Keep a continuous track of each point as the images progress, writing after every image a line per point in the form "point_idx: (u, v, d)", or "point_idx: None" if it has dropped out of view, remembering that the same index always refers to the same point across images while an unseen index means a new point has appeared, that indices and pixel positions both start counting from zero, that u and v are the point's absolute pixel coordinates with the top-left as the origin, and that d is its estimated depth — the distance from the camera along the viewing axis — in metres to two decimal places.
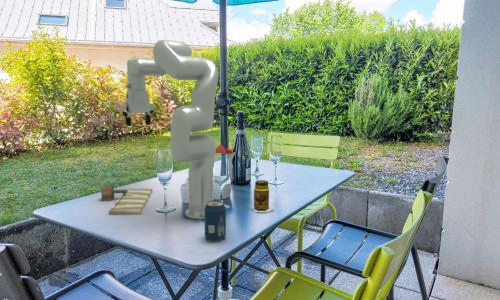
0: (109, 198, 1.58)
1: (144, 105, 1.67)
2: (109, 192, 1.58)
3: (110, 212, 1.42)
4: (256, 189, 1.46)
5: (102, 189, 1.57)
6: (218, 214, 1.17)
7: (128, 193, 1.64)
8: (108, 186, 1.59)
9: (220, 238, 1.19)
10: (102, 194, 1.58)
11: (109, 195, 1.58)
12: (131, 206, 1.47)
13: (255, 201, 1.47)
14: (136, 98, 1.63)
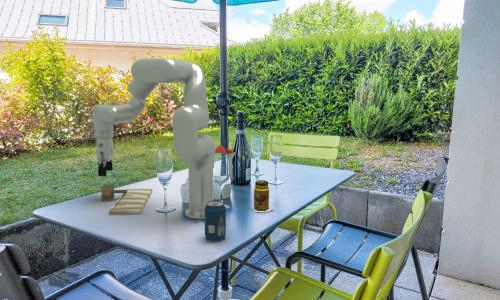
0: (109, 198, 1.58)
1: (112, 151, 1.59)
2: (109, 192, 1.58)
3: (110, 212, 1.42)
4: (256, 189, 1.46)
5: (102, 189, 1.57)
6: (218, 214, 1.17)
7: (128, 193, 1.64)
8: (108, 186, 1.59)
9: (220, 238, 1.19)
10: (102, 194, 1.58)
11: (109, 195, 1.58)
12: (131, 206, 1.47)
13: (255, 201, 1.47)
14: (109, 146, 1.55)
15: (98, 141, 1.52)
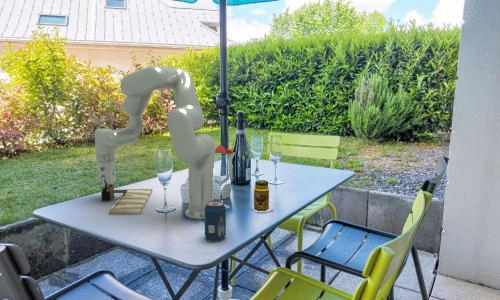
0: None
1: (114, 174, 1.61)
2: None
3: (110, 212, 1.42)
4: (256, 189, 1.46)
5: None
6: (218, 214, 1.17)
7: (128, 193, 1.64)
8: None
9: (220, 238, 1.19)
10: None
11: None
12: (131, 206, 1.47)
13: (255, 201, 1.47)
14: (111, 169, 1.57)
15: (100, 165, 1.53)
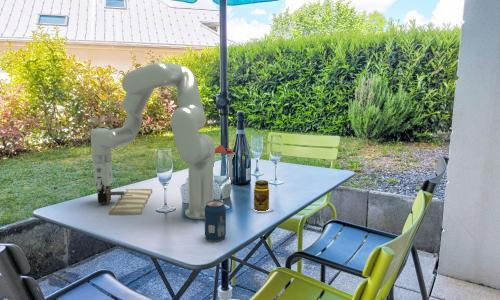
0: None
1: (111, 175, 1.55)
2: (106, 194, 1.52)
3: (110, 212, 1.42)
4: (256, 189, 1.46)
5: None
6: (218, 214, 1.17)
7: (128, 193, 1.64)
8: None
9: (220, 238, 1.19)
10: None
11: None
12: (131, 206, 1.47)
13: (255, 201, 1.47)
14: (108, 170, 1.51)
15: (96, 166, 1.48)
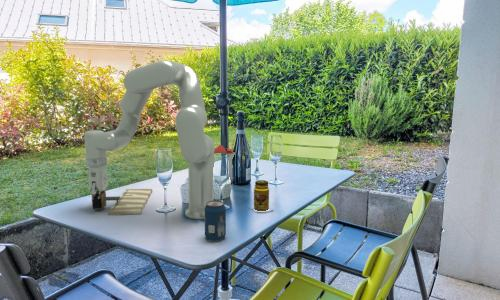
0: None
1: (106, 180, 1.48)
2: None
3: (110, 212, 1.42)
4: (256, 189, 1.46)
5: None
6: (218, 214, 1.17)
7: (128, 193, 1.64)
8: None
9: (220, 238, 1.19)
10: None
11: None
12: (131, 206, 1.47)
13: (255, 201, 1.47)
14: (103, 174, 1.44)
15: (90, 170, 1.41)
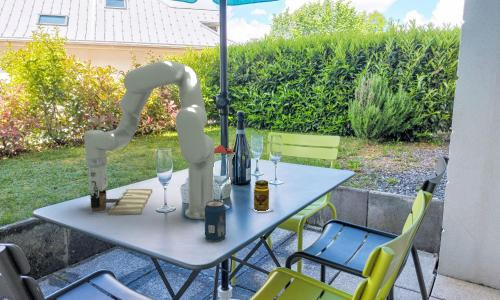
0: (100, 208, 1.46)
1: (106, 180, 1.48)
2: (100, 202, 1.45)
3: (110, 212, 1.42)
4: (256, 189, 1.46)
5: None
6: (218, 214, 1.17)
7: (128, 193, 1.64)
8: (99, 195, 1.47)
9: (220, 238, 1.19)
10: None
11: (100, 205, 1.45)
12: (131, 206, 1.47)
13: (255, 201, 1.47)
14: (103, 174, 1.44)
15: (90, 170, 1.41)
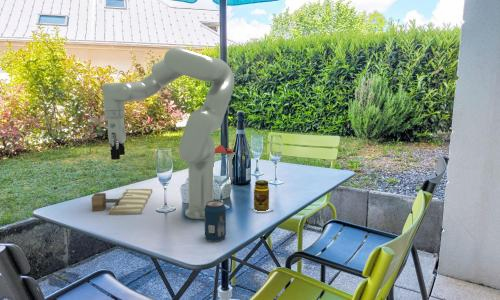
0: (100, 208, 1.46)
1: (124, 133, 1.49)
2: (100, 202, 1.45)
3: (110, 212, 1.42)
4: (256, 189, 1.46)
5: (93, 198, 1.45)
6: (218, 214, 1.17)
7: (128, 193, 1.64)
8: (99, 195, 1.47)
9: (220, 238, 1.19)
10: (93, 203, 1.45)
11: (100, 205, 1.45)
12: (131, 206, 1.47)
13: (255, 201, 1.47)
14: (121, 127, 1.45)
15: (109, 121, 1.41)
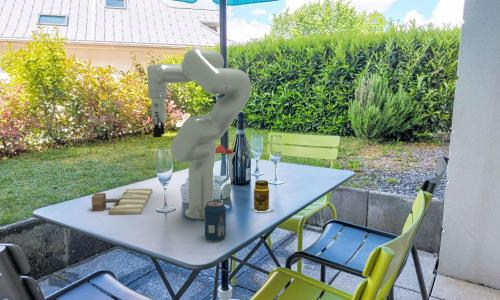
0: (100, 208, 1.46)
1: (165, 114, 1.57)
2: (100, 202, 1.45)
3: (110, 212, 1.42)
4: (256, 189, 1.46)
5: (93, 198, 1.45)
6: (218, 214, 1.17)
7: (128, 193, 1.64)
8: (99, 195, 1.47)
9: (220, 238, 1.19)
10: (93, 203, 1.45)
11: (100, 205, 1.45)
12: (131, 206, 1.47)
13: (255, 201, 1.47)
14: (164, 107, 1.53)
15: (153, 101, 1.49)
